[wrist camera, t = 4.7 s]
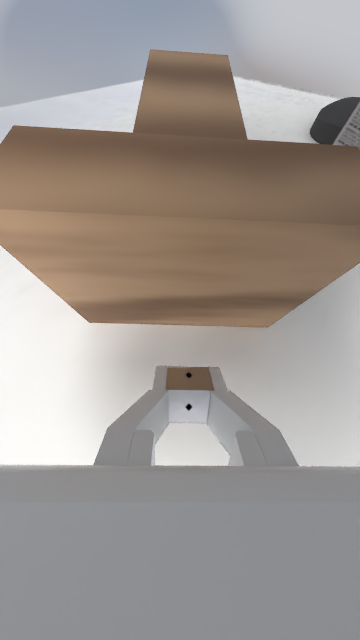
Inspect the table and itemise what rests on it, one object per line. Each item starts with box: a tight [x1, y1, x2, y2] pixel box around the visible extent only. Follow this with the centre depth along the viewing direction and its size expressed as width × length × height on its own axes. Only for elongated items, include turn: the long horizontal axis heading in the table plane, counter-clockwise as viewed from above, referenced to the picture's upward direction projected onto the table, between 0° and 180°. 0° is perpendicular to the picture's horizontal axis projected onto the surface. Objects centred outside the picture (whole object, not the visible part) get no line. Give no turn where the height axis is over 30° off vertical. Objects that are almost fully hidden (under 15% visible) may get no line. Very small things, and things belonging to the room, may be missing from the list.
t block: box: [0, 50, 360, 327], centre depth 13 cm, size 15×15×10 cm
